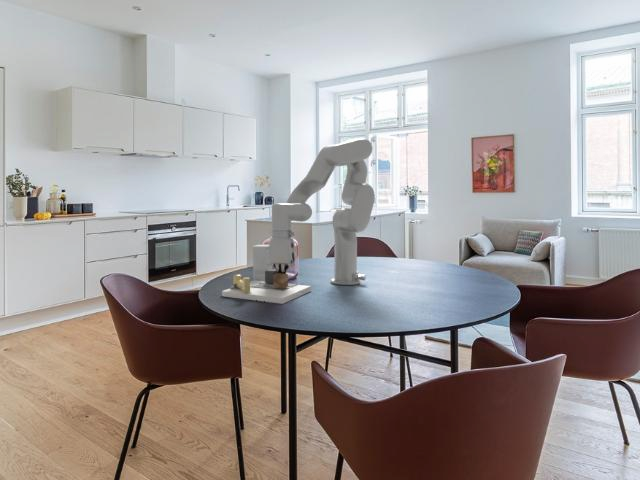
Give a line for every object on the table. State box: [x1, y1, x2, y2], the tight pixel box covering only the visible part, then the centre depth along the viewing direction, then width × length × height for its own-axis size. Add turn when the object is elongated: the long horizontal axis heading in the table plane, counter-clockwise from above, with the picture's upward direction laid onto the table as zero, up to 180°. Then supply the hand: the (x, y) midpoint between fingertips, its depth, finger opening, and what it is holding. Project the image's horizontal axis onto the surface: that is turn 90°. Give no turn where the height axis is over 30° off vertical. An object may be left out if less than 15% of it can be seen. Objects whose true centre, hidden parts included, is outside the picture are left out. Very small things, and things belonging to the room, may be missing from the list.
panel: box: [221, 280, 312, 305], centre depth 179 cm, size 27×22×2 cm
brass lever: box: [232, 273, 251, 293], centre depth 175 cm, size 14×3×5 cm, turn 27°
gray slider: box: [265, 268, 277, 284], centre depth 187 cm, size 4×4×5 cm
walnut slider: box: [273, 273, 289, 289], centre depth 177 cm, size 4×4×5 cm
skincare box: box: [252, 244, 273, 281], centre depth 202 cm, size 8×7×16 cm
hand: (281, 280), depth 185 cm, fingers closed
